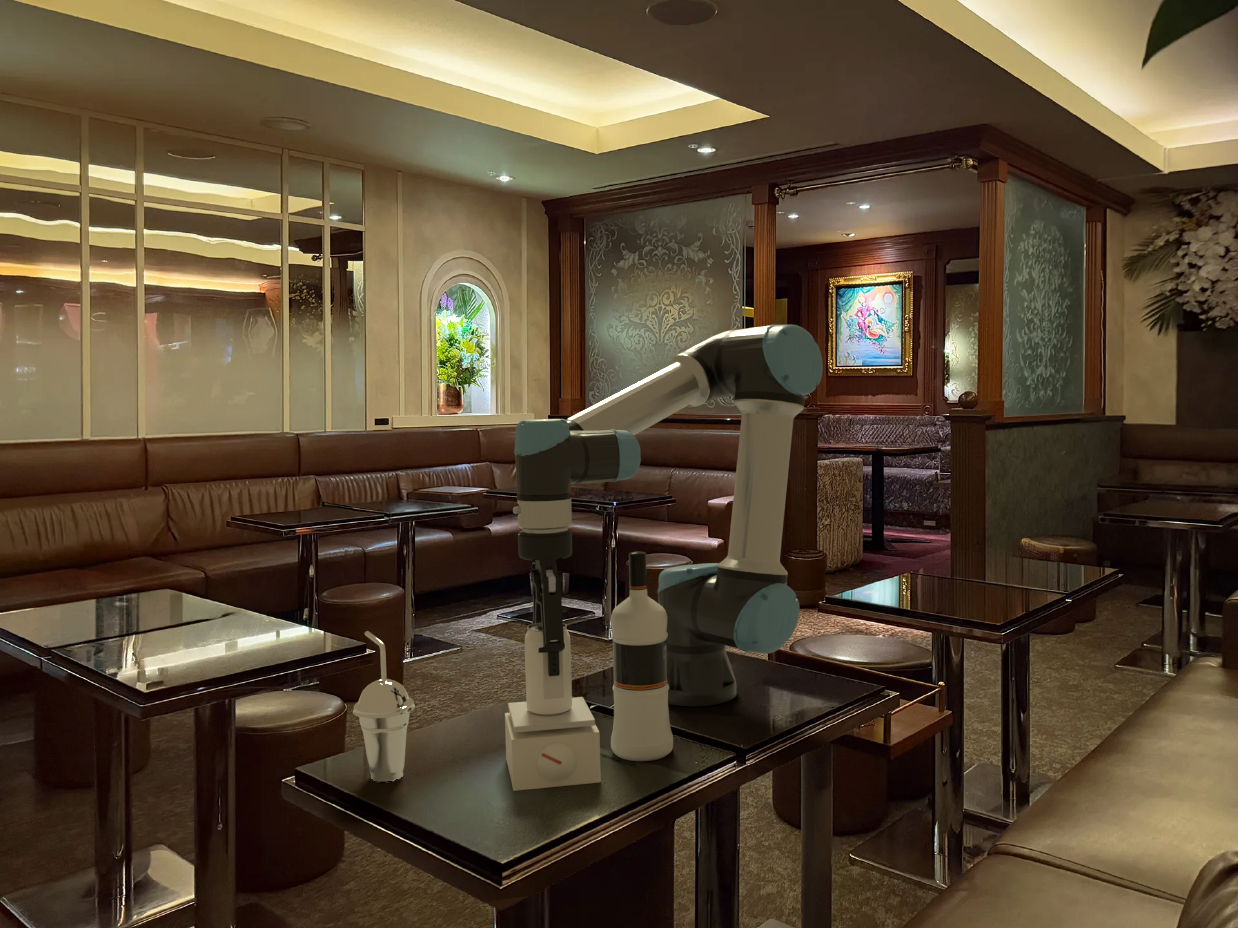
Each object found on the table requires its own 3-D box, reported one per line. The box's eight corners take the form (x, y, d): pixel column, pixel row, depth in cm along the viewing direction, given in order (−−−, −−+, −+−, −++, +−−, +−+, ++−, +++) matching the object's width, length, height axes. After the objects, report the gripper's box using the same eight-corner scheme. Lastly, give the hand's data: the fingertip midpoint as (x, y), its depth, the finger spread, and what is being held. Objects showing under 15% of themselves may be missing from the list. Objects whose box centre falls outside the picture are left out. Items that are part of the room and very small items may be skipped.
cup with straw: (353, 791, 134) (347, 646, 133) (358, 767, 143) (352, 631, 142) (417, 784, 136) (411, 641, 134) (417, 761, 144) (412, 627, 143)
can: (573, 702, 143) (571, 620, 142) (570, 716, 136) (567, 630, 136) (529, 702, 143) (527, 621, 142) (523, 716, 137) (521, 631, 136)
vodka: (600, 748, 148) (595, 551, 146) (653, 737, 152) (648, 545, 151) (630, 767, 140) (625, 558, 138) (685, 755, 144) (681, 552, 142)
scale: (587, 752, 147) (585, 695, 146) (601, 784, 134) (600, 722, 134) (506, 759, 144) (504, 702, 144) (513, 792, 132) (511, 730, 131)
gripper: (511, 521, 147) (516, 670, 149) (525, 540, 126) (530, 713, 128) (561, 519, 149) (565, 666, 150) (583, 537, 128) (587, 708, 129)
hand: (549, 687), depth 139 cm, fingers open, 9 cm apart
